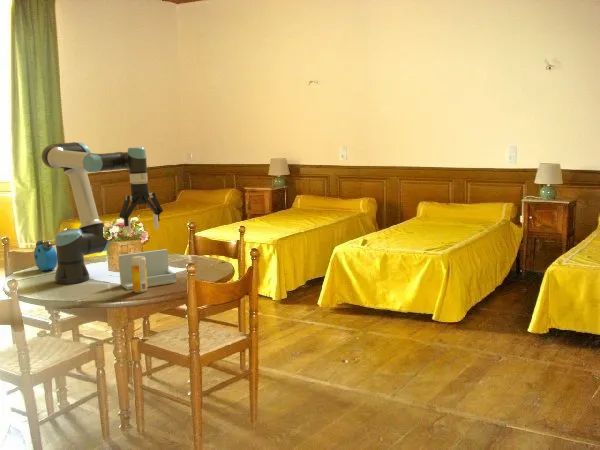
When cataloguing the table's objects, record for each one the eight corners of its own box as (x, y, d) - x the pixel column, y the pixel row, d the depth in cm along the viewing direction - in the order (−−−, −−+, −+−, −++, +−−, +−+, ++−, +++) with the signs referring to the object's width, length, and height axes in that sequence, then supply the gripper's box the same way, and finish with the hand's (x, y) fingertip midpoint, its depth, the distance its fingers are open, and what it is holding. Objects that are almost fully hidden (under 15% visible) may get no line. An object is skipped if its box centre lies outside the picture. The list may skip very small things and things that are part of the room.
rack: (127, 290, 286) (125, 259, 284) (120, 285, 296) (118, 255, 293) (176, 282, 297) (174, 252, 295) (168, 277, 306) (166, 249, 304)
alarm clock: (58, 270, 330) (56, 241, 328) (46, 273, 326) (43, 243, 323) (46, 267, 339) (43, 238, 336) (34, 269, 334) (31, 240, 332)
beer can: (141, 288, 288) (139, 254, 285) (150, 290, 284) (148, 256, 281) (130, 291, 283) (127, 257, 281) (139, 293, 279) (136, 258, 277)
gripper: (117, 186, 277) (121, 236, 280) (168, 180, 294) (171, 227, 297) (108, 185, 282) (112, 234, 285) (159, 180, 299) (162, 226, 302)
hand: (143, 231), depth 291 cm, fingers open, 13 cm apart
